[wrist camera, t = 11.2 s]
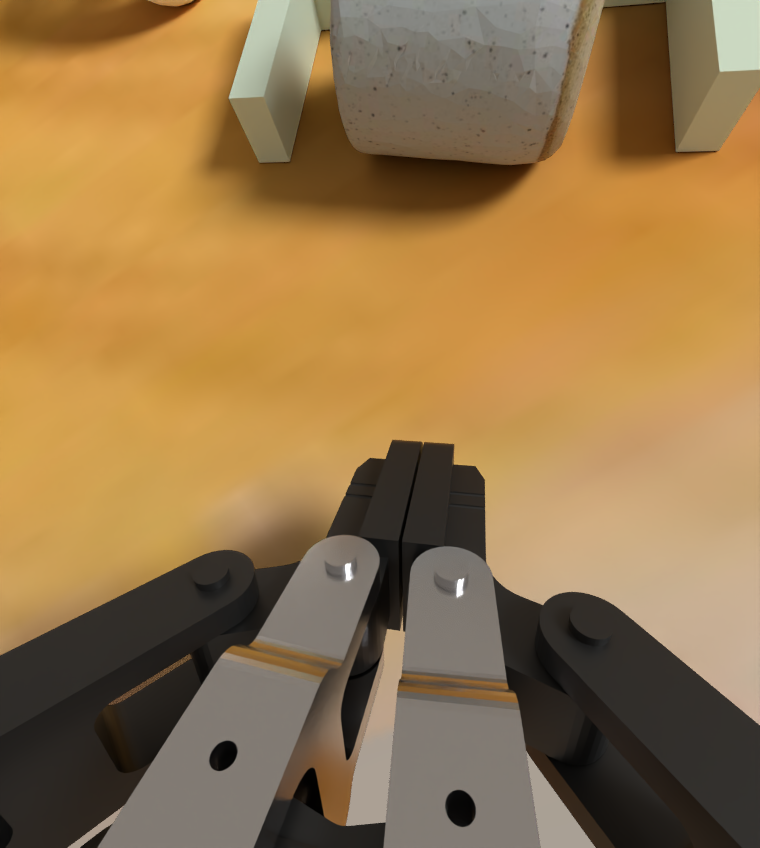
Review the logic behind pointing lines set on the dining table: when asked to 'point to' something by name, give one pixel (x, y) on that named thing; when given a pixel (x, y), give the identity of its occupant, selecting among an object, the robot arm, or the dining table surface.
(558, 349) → the dining table surface
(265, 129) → the u-shaped bracket
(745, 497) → the dining table surface
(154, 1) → the white knot sculpture
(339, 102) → the ceramic mug
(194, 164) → the dining table surface
